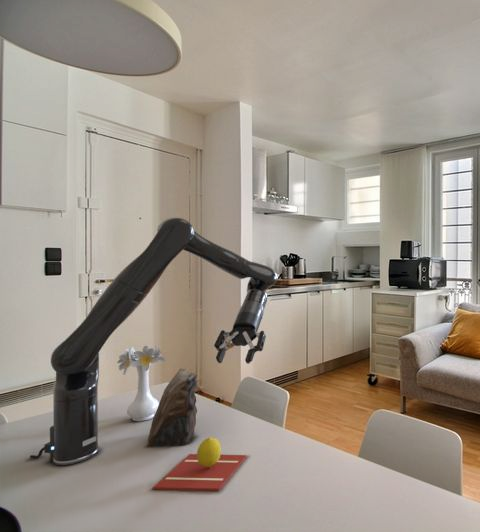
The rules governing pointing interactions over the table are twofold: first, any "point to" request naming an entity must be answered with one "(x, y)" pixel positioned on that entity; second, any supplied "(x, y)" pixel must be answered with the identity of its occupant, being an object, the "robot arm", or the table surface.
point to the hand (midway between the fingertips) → (233, 362)
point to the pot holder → (200, 474)
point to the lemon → (208, 452)
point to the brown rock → (175, 412)
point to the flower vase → (141, 381)
